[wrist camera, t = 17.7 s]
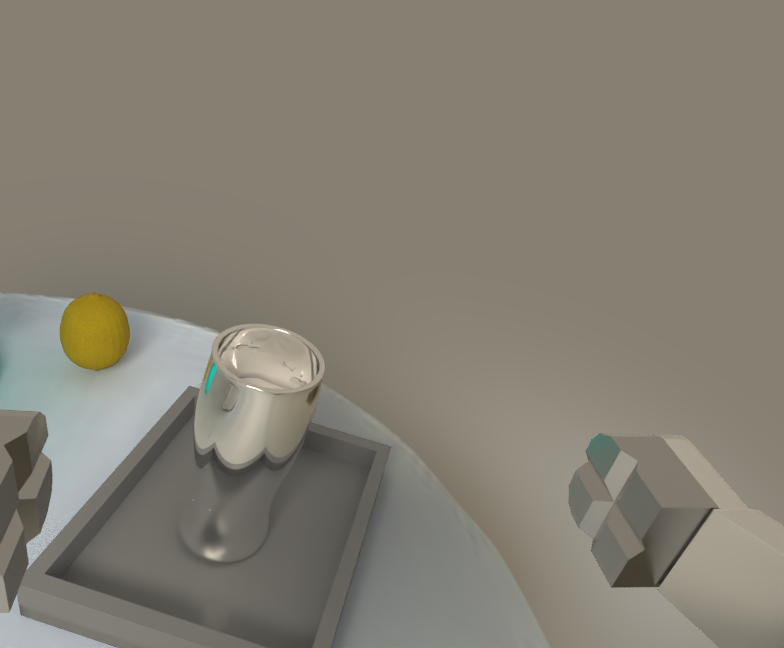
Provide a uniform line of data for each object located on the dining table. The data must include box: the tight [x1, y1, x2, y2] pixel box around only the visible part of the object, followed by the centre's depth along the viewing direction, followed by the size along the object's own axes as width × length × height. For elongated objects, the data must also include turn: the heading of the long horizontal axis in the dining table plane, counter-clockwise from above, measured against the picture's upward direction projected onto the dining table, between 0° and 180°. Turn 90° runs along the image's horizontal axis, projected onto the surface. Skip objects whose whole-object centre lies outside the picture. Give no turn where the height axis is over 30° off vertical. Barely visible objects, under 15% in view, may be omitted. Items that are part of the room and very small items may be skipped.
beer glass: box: [179, 324, 325, 562], centre depth 38 cm, size 7×7×15 cm
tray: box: [17, 386, 390, 648], centre depth 42 cm, size 18×20×3 cm
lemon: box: [60, 293, 130, 370], centre depth 52 cm, size 6×6×8 cm
